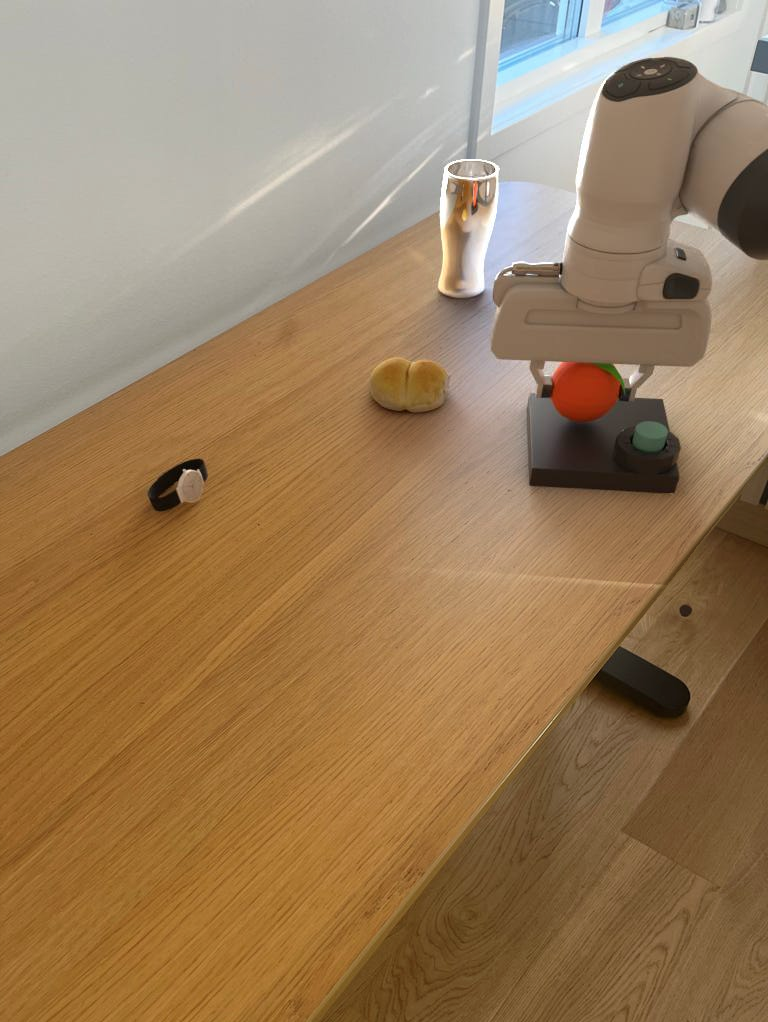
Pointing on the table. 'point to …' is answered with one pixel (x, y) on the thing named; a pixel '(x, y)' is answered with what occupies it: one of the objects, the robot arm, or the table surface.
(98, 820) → the table surface
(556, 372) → the clementine
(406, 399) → the bread roll
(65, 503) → the table surface
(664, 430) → the button
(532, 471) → the black push button box
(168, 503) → the watch
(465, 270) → the beer glass
